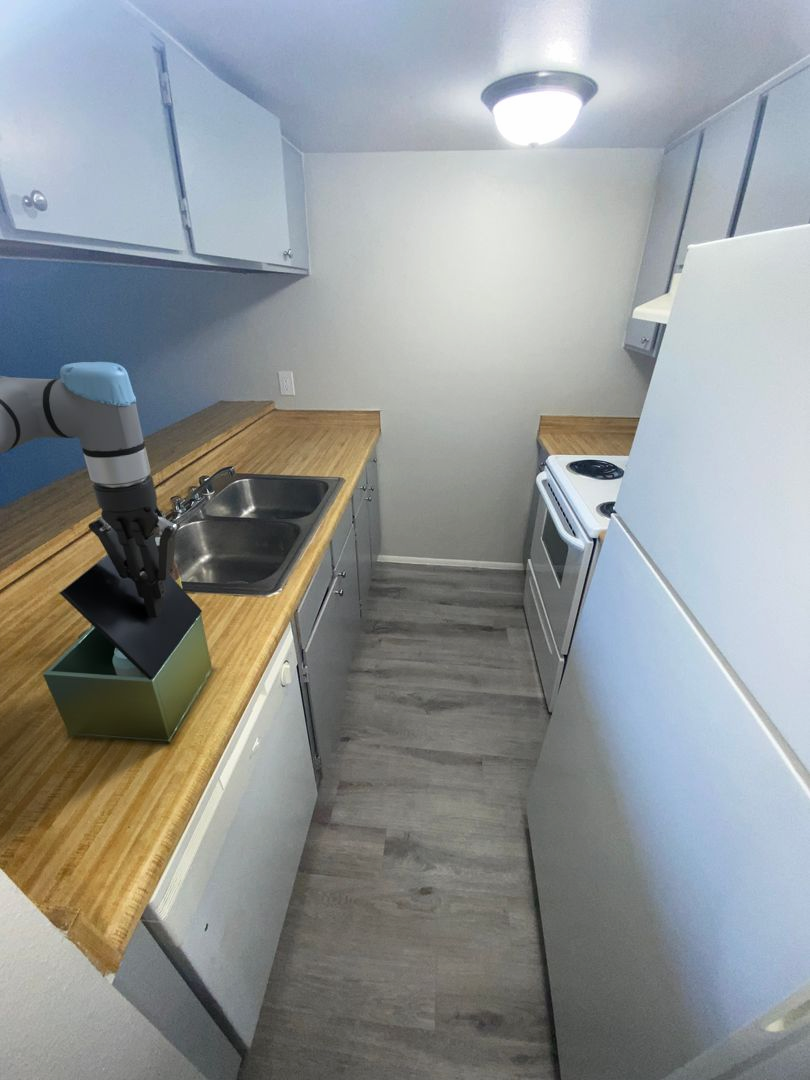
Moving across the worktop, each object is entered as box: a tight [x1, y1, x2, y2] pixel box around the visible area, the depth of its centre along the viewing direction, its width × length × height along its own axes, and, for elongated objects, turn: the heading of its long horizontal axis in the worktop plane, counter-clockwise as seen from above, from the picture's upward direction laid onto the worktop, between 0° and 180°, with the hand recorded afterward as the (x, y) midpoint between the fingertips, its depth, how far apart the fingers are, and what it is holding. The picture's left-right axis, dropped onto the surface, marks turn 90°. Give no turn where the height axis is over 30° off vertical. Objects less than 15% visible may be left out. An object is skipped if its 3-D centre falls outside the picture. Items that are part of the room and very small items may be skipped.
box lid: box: [59, 553, 203, 680], centre depth 78 cm, size 18×18×1 cm
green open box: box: [42, 613, 214, 745], centre depth 85 cm, size 18×18×14 cm
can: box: [113, 648, 147, 678], centre depth 85 cm, size 7×7×12 cm
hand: (156, 612), depth 78 cm, fingers closed
